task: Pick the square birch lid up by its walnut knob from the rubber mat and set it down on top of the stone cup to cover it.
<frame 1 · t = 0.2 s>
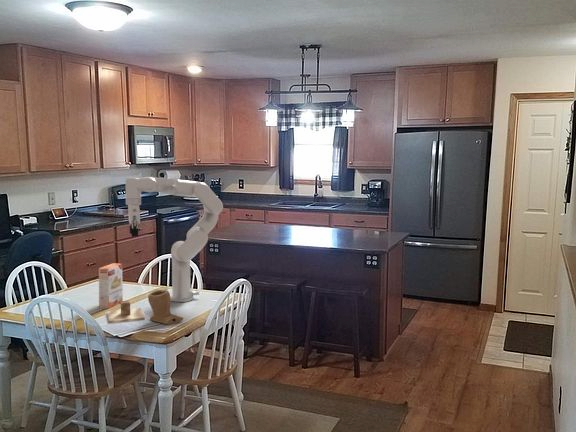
hand: (133, 234, 271), 36 cm above the table, tool pointing down, fingers open, 9 cm apart
lid: (125, 316, 252), point 1 cm above the table, touching mat
cracker box: (111, 305, 271), on the table
mat: (125, 317, 252), on the table
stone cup: (163, 322, 246), on the table
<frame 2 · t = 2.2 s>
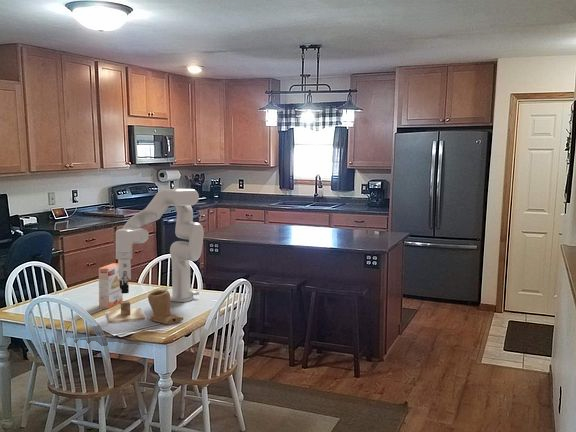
hand: (124, 290, 250), 13 cm above the table, tool pointing down, fingers open, 9 cm apart
nothing on the table moved.
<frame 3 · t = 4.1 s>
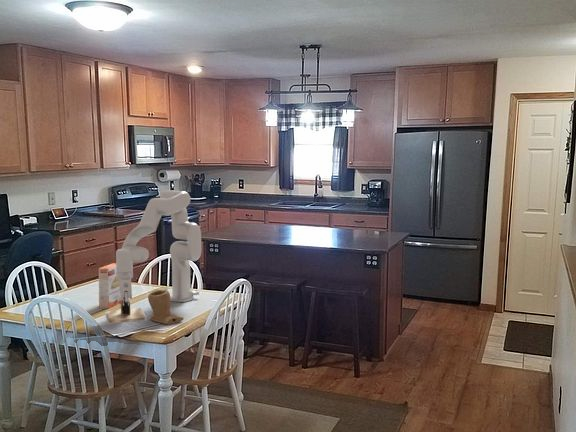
hand: (125, 311, 251), 3 cm above the table, tool pointing down, fingers closed on lid, 4 cm apart
lid: (125, 316, 252), point 1 cm above the table, touching gripper, mat
everything else where it was.
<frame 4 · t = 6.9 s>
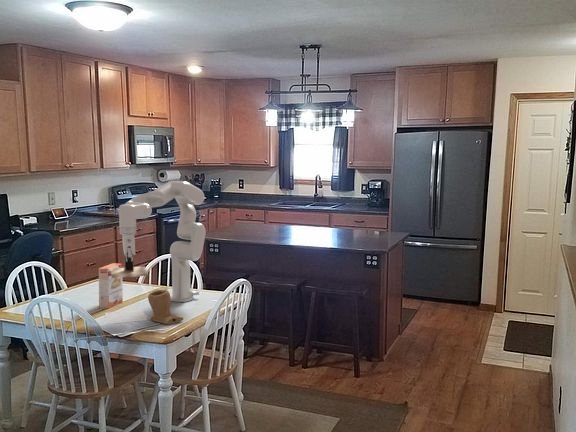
hand: (128, 268, 248), 24 cm above the table, tool pointing down, fingers closed on lid, 4 cm apart
lid: (128, 273, 248), point 22 cm above the table, touching gripper
everything else where it was.
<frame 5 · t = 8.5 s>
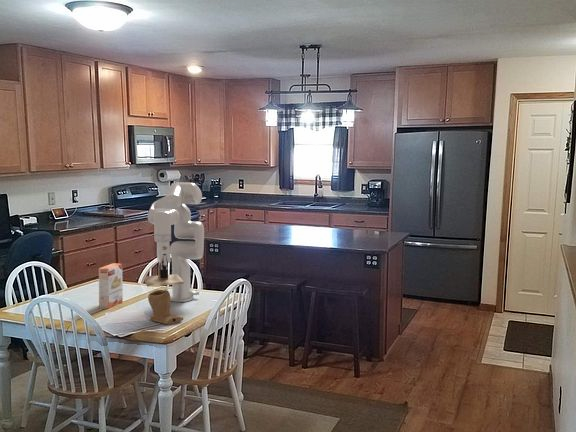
hand: (163, 276, 243), 22 cm above the table, tool pointing down, fingers closed on lid, 4 cm apart
lid: (163, 281, 243), point 20 cm above the table, touching gripper
everything else where it was.
when the fingers open (19 cm above the table, at t = 9.7 s): lid drops 2 cm, resting on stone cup.
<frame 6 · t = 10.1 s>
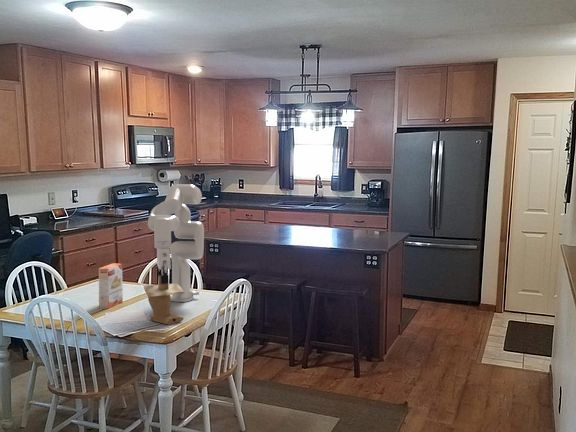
hand: (163, 281, 243), 20 cm above the table, tool pointing down, fingers open, 8 cm apart
lid: (163, 290, 244), point 15 cm above the table, touching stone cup
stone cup: (163, 322, 246), on the table, touching lid
everything else where it was.
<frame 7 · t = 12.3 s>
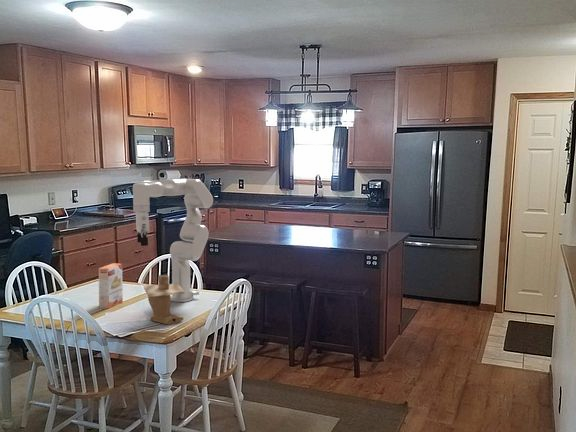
hand: (142, 243, 255), 35 cm above the table, tool pointing down, fingers open, 9 cm apart
nothing on the table moved.
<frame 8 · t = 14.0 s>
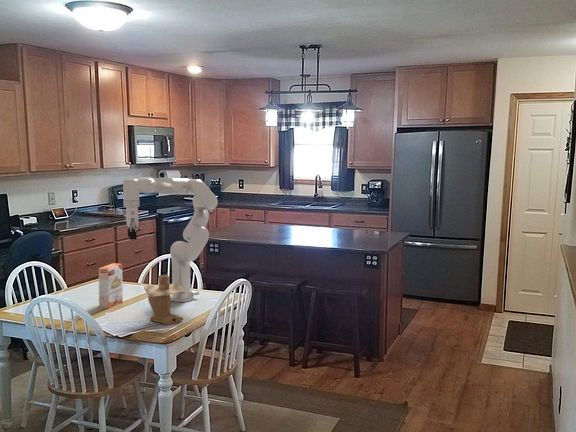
hand: (132, 237, 261), 36 cm above the table, tool pointing down, fingers open, 9 cm apart
nothing on the table moved.
at the end: lid 0.4 cm from the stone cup (horizontally); lid point 14.9 cm above the table; lid tilted 0° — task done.
